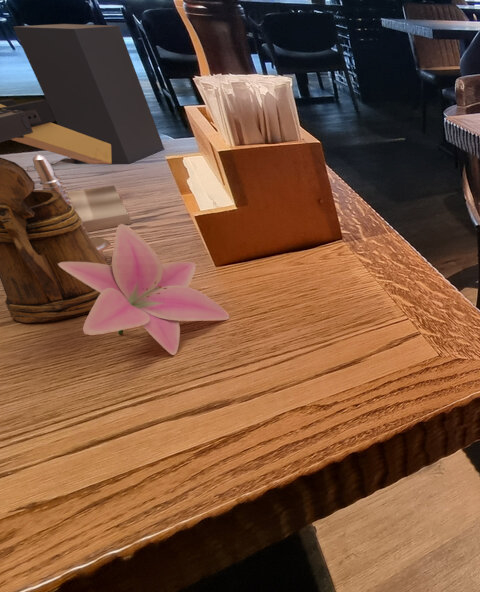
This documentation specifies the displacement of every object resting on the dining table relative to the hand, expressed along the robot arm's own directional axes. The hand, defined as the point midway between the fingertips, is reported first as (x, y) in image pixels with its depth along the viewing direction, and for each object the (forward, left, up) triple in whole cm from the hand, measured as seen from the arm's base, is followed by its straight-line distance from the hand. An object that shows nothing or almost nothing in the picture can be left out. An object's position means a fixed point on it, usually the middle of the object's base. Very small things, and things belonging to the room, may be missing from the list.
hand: (31, 110), depth 69 cm
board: (+2, 0, -14) cm, 14 cm away
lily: (+40, -22, -14) cm, 48 cm away
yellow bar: (0, -1, -4) cm, 4 cm away
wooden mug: (+27, -21, -14) cm, 37 cm away
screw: (+18, -12, -14) cm, 26 cm away
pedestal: (-23, +25, -14) cm, 37 cm away
